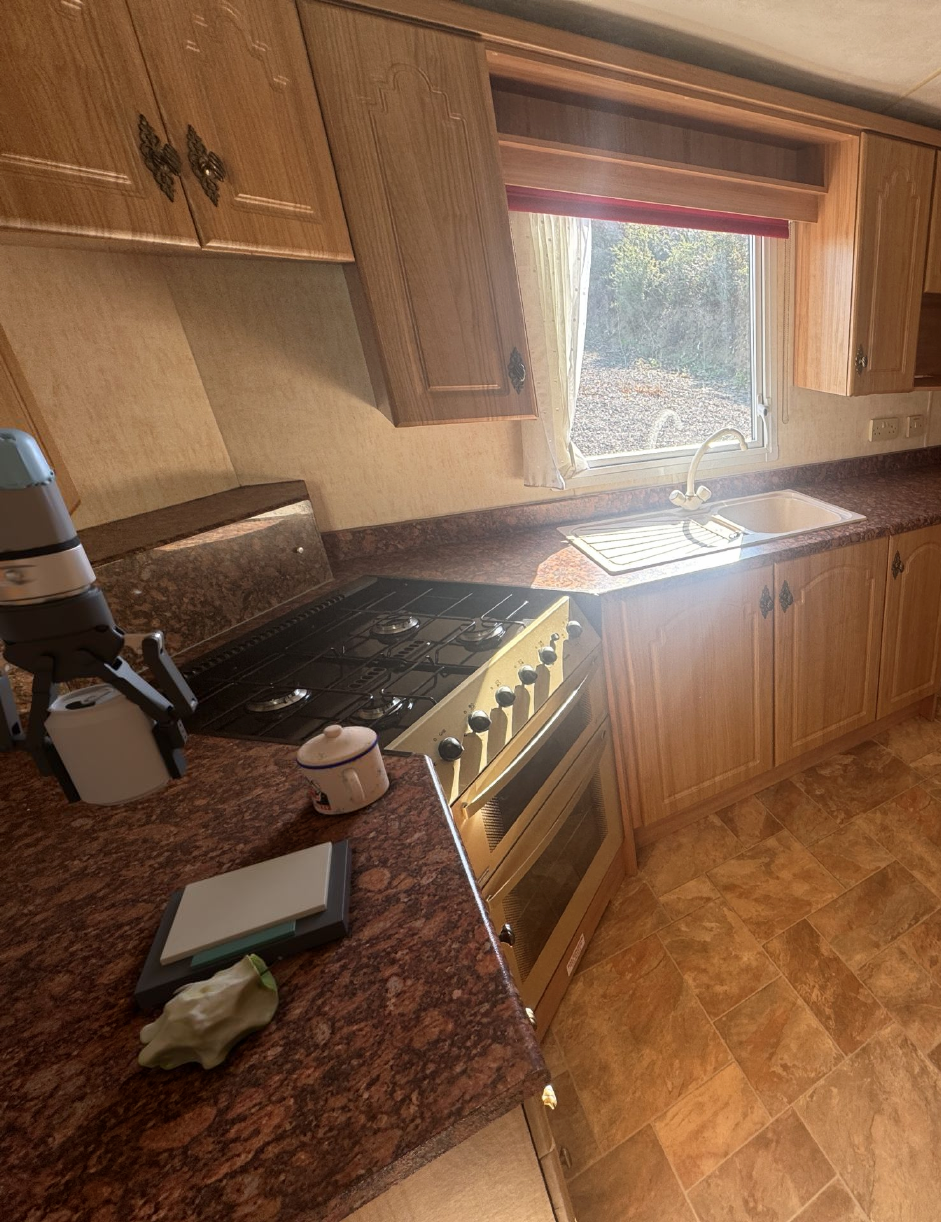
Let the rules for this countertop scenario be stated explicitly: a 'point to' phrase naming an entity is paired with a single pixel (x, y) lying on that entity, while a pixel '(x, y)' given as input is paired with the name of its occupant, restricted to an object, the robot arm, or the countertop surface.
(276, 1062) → the countertop surface
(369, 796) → the teacup with lid
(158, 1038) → the fruit
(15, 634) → the robot arm
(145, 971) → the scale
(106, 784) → the can
